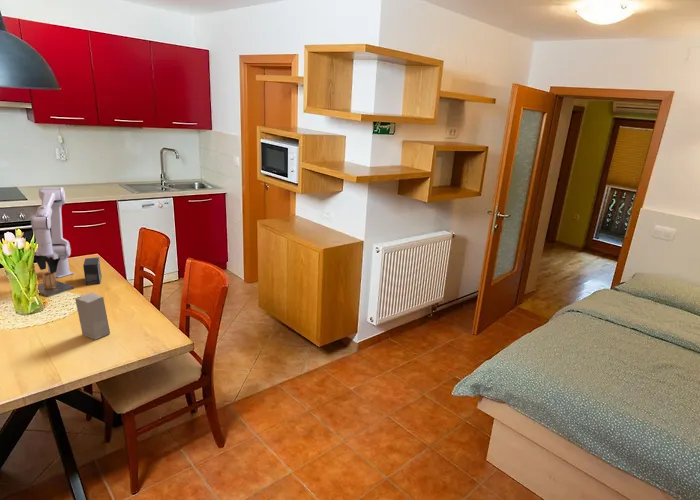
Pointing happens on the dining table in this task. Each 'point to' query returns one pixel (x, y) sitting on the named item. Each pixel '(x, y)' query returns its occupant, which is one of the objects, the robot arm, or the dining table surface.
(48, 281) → the brown hollow prism
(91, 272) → the small box
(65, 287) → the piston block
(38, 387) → the dining table surface
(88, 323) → the skincare box
